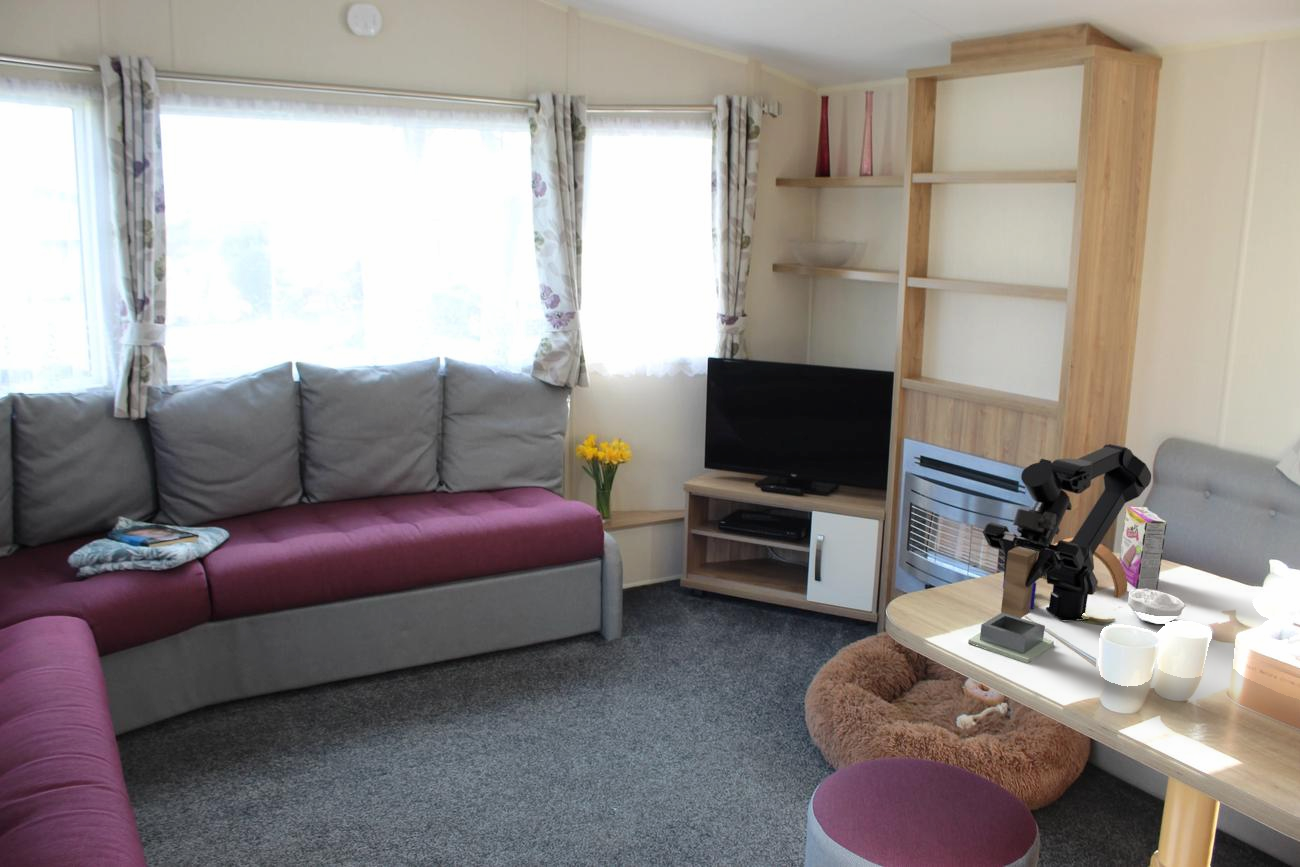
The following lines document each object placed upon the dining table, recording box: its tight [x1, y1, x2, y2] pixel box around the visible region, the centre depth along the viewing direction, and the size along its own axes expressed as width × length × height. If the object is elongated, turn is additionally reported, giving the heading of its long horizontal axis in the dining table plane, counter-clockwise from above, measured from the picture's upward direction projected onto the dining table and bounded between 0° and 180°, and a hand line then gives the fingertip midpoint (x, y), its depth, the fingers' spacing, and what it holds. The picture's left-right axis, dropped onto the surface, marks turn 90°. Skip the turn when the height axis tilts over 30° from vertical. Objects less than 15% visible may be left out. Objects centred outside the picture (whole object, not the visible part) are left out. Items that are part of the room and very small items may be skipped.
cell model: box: [1127, 588, 1186, 617], centre depth 228 cm, size 10×12×7 cm
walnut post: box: [1000, 547, 1038, 619], centre depth 211 cm, size 4×4×12 cm
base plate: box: [967, 632, 1055, 664], centre depth 214 cm, size 12×12×1 cm
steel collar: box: [979, 612, 1046, 654], centre depth 214 cm, size 9×9×3 cm
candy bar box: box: [1118, 505, 1168, 591], centre depth 250 cm, size 11×5×16 cm, turn 179°
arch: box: [1036, 537, 1128, 599], centre depth 248 cm, size 6×20×10 cm, turn 49°
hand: (1015, 582), depth 210 cm, fingers closed on walnut post, 4 cm apart
